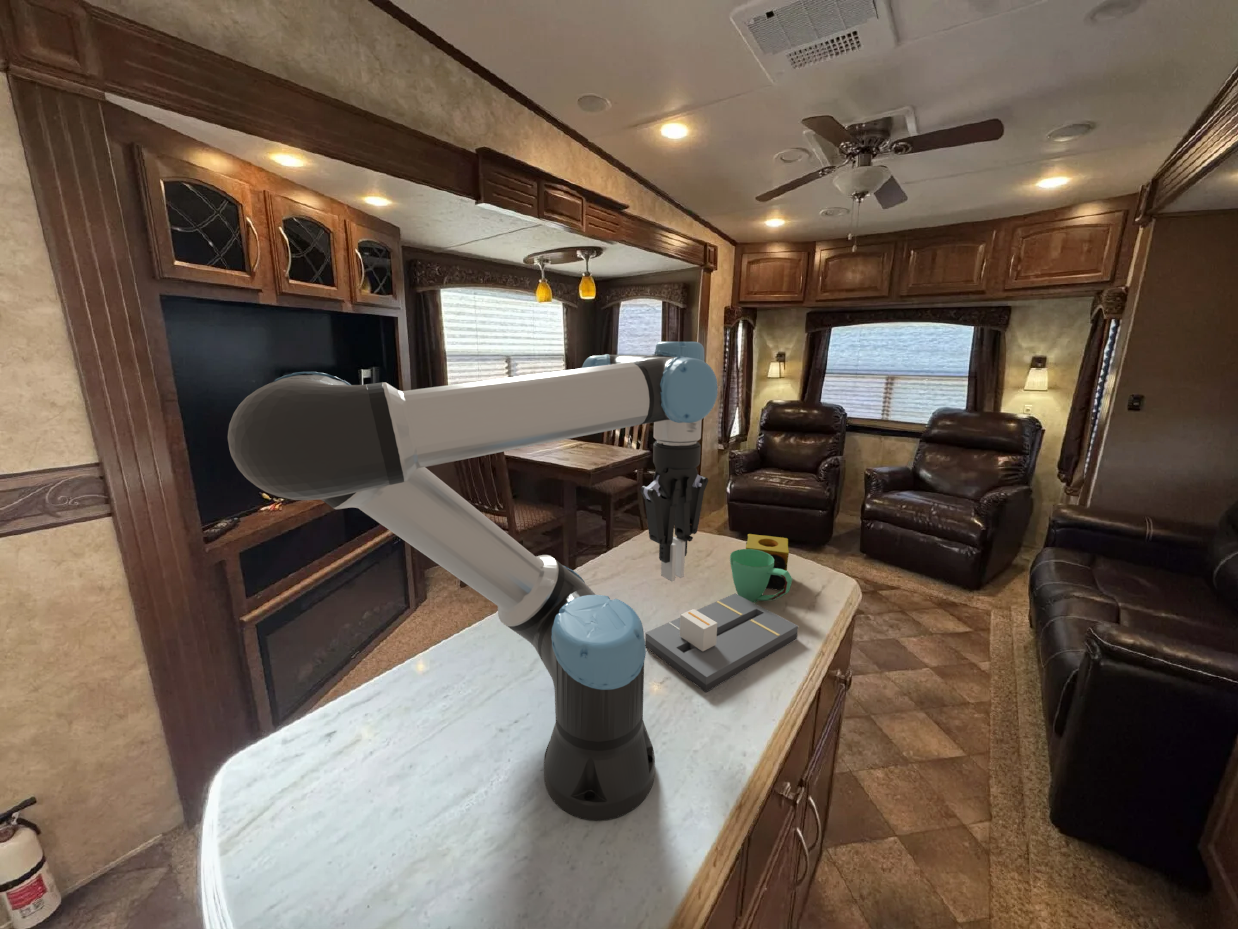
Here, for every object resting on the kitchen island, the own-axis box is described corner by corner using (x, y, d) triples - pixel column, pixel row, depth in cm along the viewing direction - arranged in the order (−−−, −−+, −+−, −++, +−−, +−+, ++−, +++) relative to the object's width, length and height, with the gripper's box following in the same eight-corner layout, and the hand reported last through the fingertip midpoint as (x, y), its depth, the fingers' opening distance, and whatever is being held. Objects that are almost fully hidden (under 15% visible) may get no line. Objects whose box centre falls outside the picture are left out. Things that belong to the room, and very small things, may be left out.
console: (705, 692, 81) (706, 676, 81) (645, 646, 94) (645, 632, 93) (796, 639, 97) (798, 625, 96) (734, 605, 109) (735, 592, 108)
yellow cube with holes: (741, 585, 118) (744, 547, 116) (743, 568, 128) (746, 532, 125) (785, 592, 115) (789, 553, 113) (784, 573, 125) (787, 537, 122)
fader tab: (702, 658, 87) (703, 628, 86) (679, 642, 92) (680, 614, 91) (715, 651, 89) (717, 622, 88) (692, 636, 94) (693, 608, 93)
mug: (719, 597, 113) (721, 557, 110) (742, 583, 119) (744, 545, 117) (777, 622, 102) (781, 578, 100) (798, 605, 109) (803, 564, 107)
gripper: (658, 450, 70) (654, 597, 76) (725, 439, 78) (717, 573, 84) (626, 442, 76) (625, 579, 82) (692, 433, 84) (687, 558, 90)
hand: (672, 576), depth 83 cm, fingers closed
